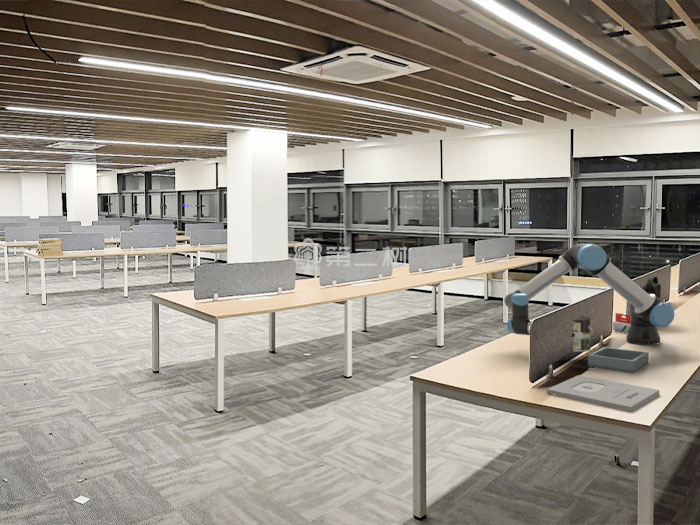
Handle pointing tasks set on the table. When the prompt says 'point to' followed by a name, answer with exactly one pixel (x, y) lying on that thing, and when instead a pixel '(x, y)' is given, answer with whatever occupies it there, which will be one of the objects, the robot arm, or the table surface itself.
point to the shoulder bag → (652, 286)
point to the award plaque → (604, 392)
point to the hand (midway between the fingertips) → (587, 333)
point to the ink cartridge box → (621, 323)
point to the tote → (618, 359)
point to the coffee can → (583, 326)
